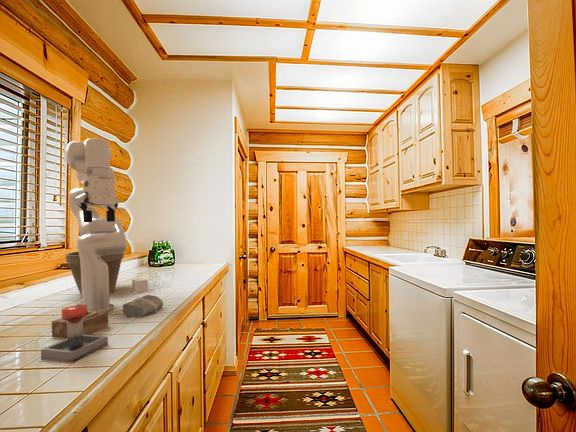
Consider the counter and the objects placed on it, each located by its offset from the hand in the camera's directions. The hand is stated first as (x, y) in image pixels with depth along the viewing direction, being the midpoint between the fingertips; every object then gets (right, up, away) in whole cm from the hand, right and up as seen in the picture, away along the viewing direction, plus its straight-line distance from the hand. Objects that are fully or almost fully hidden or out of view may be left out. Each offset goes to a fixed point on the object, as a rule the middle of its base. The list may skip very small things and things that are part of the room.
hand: (99, 221), depth 110 cm
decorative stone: (+11, -36, +11) cm, 39 cm away
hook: (+7, -35, -23) cm, 43 cm away
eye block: (-2, -36, -7) cm, 37 cm away
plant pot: (-30, -38, +47) cm, 67 cm away
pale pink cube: (-9, -37, +48) cm, 61 cm away
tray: (+8, -36, -23) cm, 44 cm away
